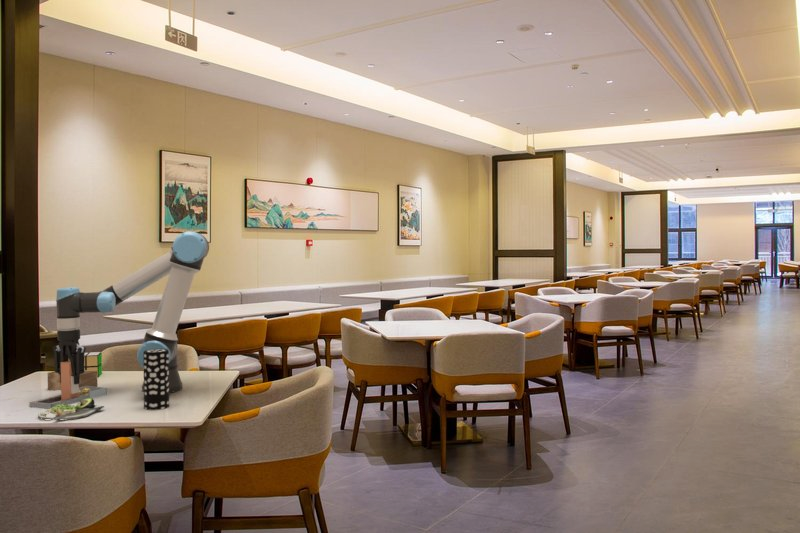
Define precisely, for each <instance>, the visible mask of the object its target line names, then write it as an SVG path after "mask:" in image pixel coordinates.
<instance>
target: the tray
mask: <svg viewBox="0 0 800 533" xmlns="http://www.w3.org/2000/svg"><path fill="white" fill-rule="evenodd" d="M84 388H90V390H91V391H90V392H89V394H90V398H92V399H94V398H98V397H102V396H106V395H107V394H108V393H107V392H108V390H107V389H108V388H107V387H102V386H101V387H100V386H97V387H92V386H85V387H81V388H79V390H81V391H82V390H83V389H84Z"/></svg>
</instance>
